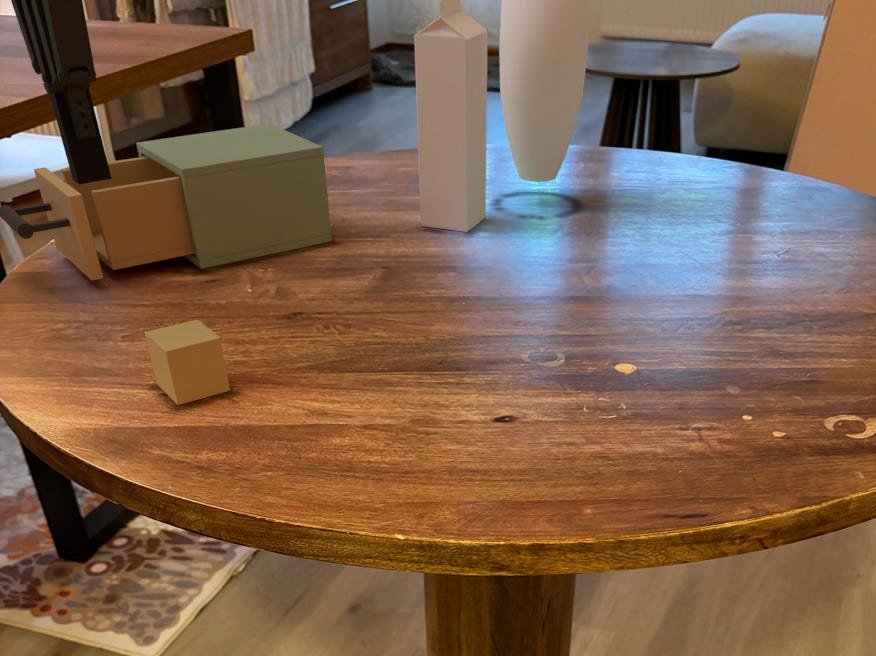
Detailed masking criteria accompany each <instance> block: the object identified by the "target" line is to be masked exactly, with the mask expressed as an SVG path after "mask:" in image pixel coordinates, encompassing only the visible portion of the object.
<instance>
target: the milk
mask: <svg viewBox="0 0 876 656" xmlns="http://www.w3.org/2000/svg"><path fill="white" fill-rule="evenodd" d="M438 6H439V7H438V8H439V10H438V11H439V17H438V18H436V19H435V20H434V21H432V22H431V23H429V24H428V25H426V26H425V27H424V28H422V29H421V30H419V31H418V32H416V33H415V34H414V37H413V39H414V44H413V45H414V63H415V64H414V66H415V67H414V70H415V71H414V72H415V96H416V97H415V101H416V126H417V127H416V130H417V131H416V132H417V157H418V159H417V160H418V162H417V163H418V186H419V189H418V190H419V191H418V192H419V215H420V216H419V217H420V226H421V227H425V228H433V229H439V230H449V231H456V232H461V233H462V232H463V233H468V232H469V231H470V230H472V229H473V228H474V227H476V226H477V225H478V224H479V223H480V222H482V221H483V220H484V219H486V217H487V216H486V213H487V210H486V208H487V207H486V206H487V204H486V203H487V202H486V201H487V199H486V198H487V122H488V121H487V120H488V119H487V118H488V117H487V116H488V115H487V113H488V111H487V110H488V108H487V107H488V95H487V94H488V30H487V29H486V28H485V27H484V26H482V25H481V24H480V23H479V22H478V21H477V20H475V19H474V18H473V17H471V16H470V15H469V13H467V12H466V11H464V10H463V0H439V5H438Z"/></svg>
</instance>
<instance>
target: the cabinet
mask: <svg viewBox="0 0 876 656" xmlns="http://www.w3.org/2000/svg"><path fill="white" fill-rule="evenodd" d="M135 144H136V149H137V152H138V158H139V157H145V156H148V157H149V158H151V159H153V160H154V161H156V162H158V163H159V164H161V165H163V166H164V167H166V168H168V169H169V170H171V171H173V172H175V173H176V174H178V175H180V176H181V180H182V185H183V190H184V195H185V201H186V206H187V211H188V216H189V221H190V227H191V232H192V237H193V242H194V247H195V254H190V255H185V256H183V257H184V258H185V259H187V261H189V262H191V263H192V264H193V265H195V266H196V267H198V268H199V269H200V270H204V269H208V268H214V267H218V266H222V265H227V264H231V263H236V262H241V261H246V260H251V259H254V258H259V257H265V256H269V255H274V254H278V253H283V252H288V251H292V250H298V249H301V248H302V249H303V248H307V247H311V246H317V245H320V244H326V243H330V242H332V241H333V238H332V237H333V236H332V227H331V217H330V205H329V198H328V197H329V195H328V186H327V185H328V184H327V176H326V175H327V174H326V165H325V154H324V153H325V152H324V146H322V145H320V144H317V143H315V142H312V141H311V140H308V139H306V138H304V137H301V136H299V135H297V134H294V133H292V132H290V131H288V130H285V129H283V128H280V127H278V126H277V125H274V124H271V123H264V124H257V125H249V126H244V127H237V128H229V129H222V130H215V131H208V132H202V133H194V134H188V135H187V134H186V135H180V136H174V137H167V138H159V139H154V140H153V139H152V140H144V141H139V142H136V143H135Z"/></svg>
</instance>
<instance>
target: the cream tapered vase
mask: <svg viewBox="0 0 876 656" xmlns="http://www.w3.org/2000/svg"><path fill="white" fill-rule="evenodd" d="M590 12H591V0H501V5H500V25H499V26H500V27H499V43H498V45H499V46H498V48H499V49H498V50H499V51H498V52H499V53H498V54H499V92H500V100H501V107H502V114H503V120H504V127H505V133H506V139H507V142H508V145H509V148H510V153H511V157H512V161H513V164H514V166H515V169H516V172H517V175H518V177H519V179H521V180H522V181H523V180H524V181H527V182H534V183H535V182H536V183H545V182H550V181H554V180H556V179H557V177H558V174H559V172H560V170H561V168H562V165H563V164H564V161H565V158H566V156H567V153H568V150H569V147H570V144H571V141H572V139H573V135H574V132H575V127H576V124H577V119H578V116H579V112H580V108H581V107H580V106H581V103H582V98H583V95H584V87H585V79H586V70H587V61H588V53H589V39H590V38H589V37H590V35H589V34H590V15H591V13H590Z"/></svg>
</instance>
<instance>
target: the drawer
mask: <svg viewBox="0 0 876 656" xmlns="http://www.w3.org/2000/svg"><path fill="white" fill-rule="evenodd" d="M107 162H108V166H109V170H110V174H111V178H112V179H108V180H102V181H96V182H91V183H85V184H78V183H76V182H75V181H73V178H72V175H71V171H70V167H66V168H61V172H62V176H63V179H61V178H60V177H59V176H57V175H56V174H55V173H54V172H52V171H51V170H50V169H49V168H47V167H41V168H40V167H38V168H34V169H33V170H34V171H33V172H34V175H35V179H36V182H37V185H38V189H39V193H40V196H41V199H42V203H40V204H35V205H33V204H32V205H28V206H27V205H26V206H22V207H16V208H12V207H11V206H10V205H6V204H4V205H0V218H1V219H2V221H4V222H5V223H6V224H7V225H8V226H9V227H10V228H11V229H12V230H13V231H14V232H15V233H16V234H18V236H20V238H22V239H24V240H28V239H31V238H32V237H33V236H34V234H35V233H38V232H43V231H50V230H51V235H52V237H53V241H54V244H55V248H56V249H57V251H59V253H61V254H62V255H63V256H64V257H65V258H67V260H69V261H70V263H72V264H73V265H74V266H75V267H76V268H77V269H79V270H80V272H82V273H83V274H84V275H85V276H86V277H87V278H88V279H89V280H90V281H95V280H96V281H97V280H100V279H104V275H103V272H102V268H101V263H100V260H101V261H102V262H103V263H104V264H106V266H108V267H109V268H110V269H111V270H113V271H116V270H121V269H126V268H131V267H135V266H139V265H145V264H151V263H155V262H161V261H164V260H169V259H174V258H180V257H184V256H185V255H190V254H195V247H194V242H193V237H192V232H191V227H190V221H189V216H188V211H187V206H186V201H185V195H184V190H183V185H182V180H181V176H180V175H178V174H176V173H175V172H173V171H171V170H169V169H168V168H166V167H164V166H163V165H161V164H159V163H158V162H156V161H154V160H153V159H151V158H149V157H148V156H145V157H139V156H138V157H133V158H126V159H118V160H111V161H107ZM44 212H45V214H46V217H47V220H48V221H43V222H38V223H32V224H30V223H28V222H27V221H26V220H25V219H24V218H23V217H22V216H28V215H32V214H38V213H44Z"/></svg>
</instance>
